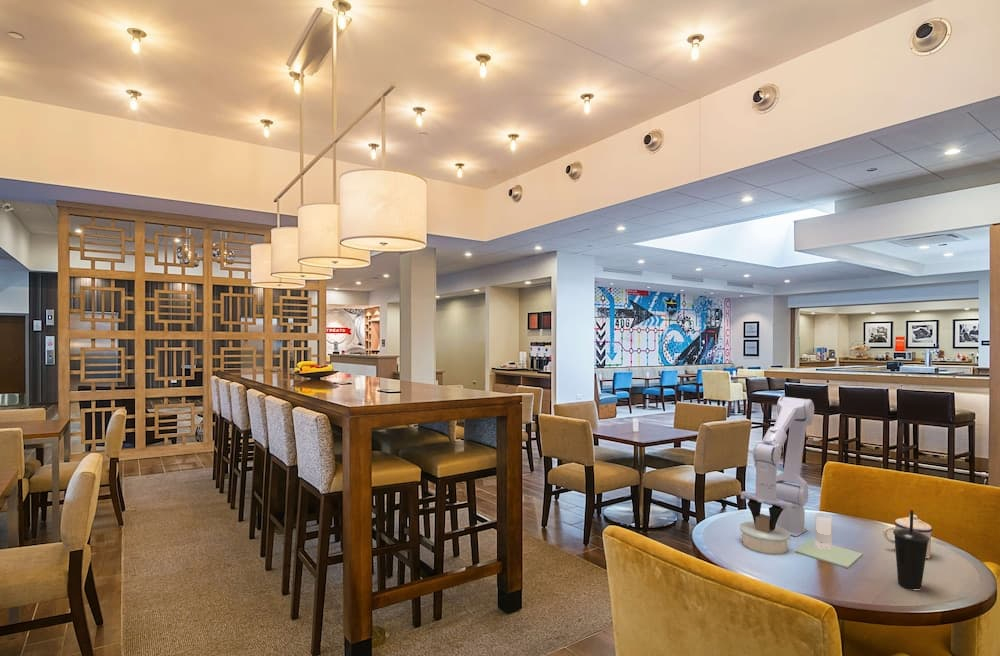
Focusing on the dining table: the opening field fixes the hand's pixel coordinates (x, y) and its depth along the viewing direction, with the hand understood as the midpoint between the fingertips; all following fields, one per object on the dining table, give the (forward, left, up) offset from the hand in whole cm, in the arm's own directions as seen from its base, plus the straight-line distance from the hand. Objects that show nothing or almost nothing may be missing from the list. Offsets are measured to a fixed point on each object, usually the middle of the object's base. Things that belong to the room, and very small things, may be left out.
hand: (764, 527), depth 168 cm
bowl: (0, 0, -6) cm, 6 cm away
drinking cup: (-3, +36, -6) cm, 37 cm away
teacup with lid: (-29, +30, -6) cm, 42 cm away
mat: (-9, +15, -6) cm, 18 cm away
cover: (0, 0, -2) cm, 2 cm away
